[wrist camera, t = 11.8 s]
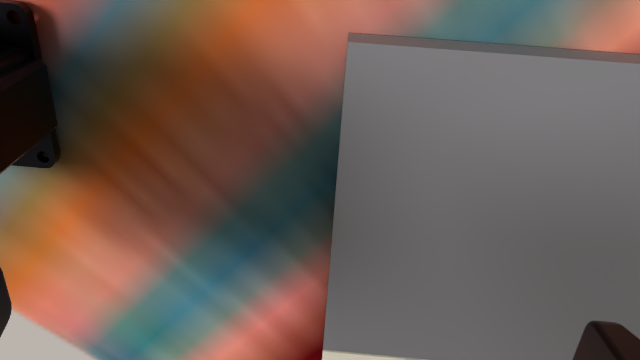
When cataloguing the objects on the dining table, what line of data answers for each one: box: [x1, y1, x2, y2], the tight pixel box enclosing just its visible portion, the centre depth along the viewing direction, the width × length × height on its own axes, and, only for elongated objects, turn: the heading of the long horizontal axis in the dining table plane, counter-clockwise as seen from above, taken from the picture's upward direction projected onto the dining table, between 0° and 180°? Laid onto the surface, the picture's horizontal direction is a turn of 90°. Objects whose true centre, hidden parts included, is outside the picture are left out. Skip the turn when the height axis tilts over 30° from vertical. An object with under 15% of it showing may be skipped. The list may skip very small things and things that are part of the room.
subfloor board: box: [322, 33, 640, 360], centre depth 23 cm, size 17×20×1 cm
